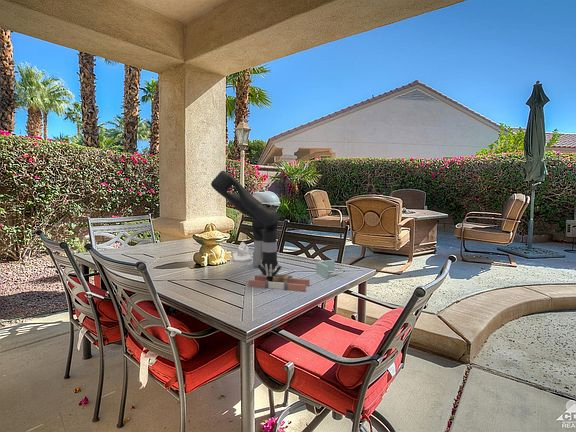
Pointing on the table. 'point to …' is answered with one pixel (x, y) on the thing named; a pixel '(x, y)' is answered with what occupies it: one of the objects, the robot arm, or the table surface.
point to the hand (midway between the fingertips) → (269, 282)
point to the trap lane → (293, 285)
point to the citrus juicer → (242, 254)
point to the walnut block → (281, 278)
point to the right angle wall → (326, 268)
